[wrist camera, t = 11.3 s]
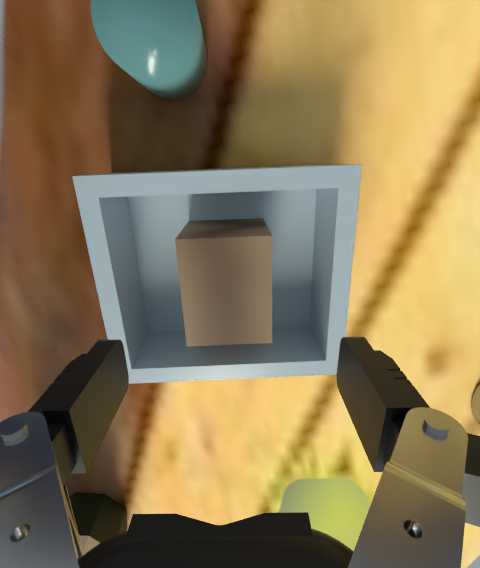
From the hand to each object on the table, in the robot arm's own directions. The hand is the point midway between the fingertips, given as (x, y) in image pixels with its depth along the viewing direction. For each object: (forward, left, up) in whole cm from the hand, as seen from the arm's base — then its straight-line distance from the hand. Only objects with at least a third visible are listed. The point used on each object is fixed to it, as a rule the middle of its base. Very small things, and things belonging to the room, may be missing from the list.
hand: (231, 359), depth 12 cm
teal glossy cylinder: (+3, -13, -15) cm, 20 cm away
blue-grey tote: (+1, +1, -15) cm, 15 cm away
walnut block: (0, +1, -14) cm, 14 cm away
